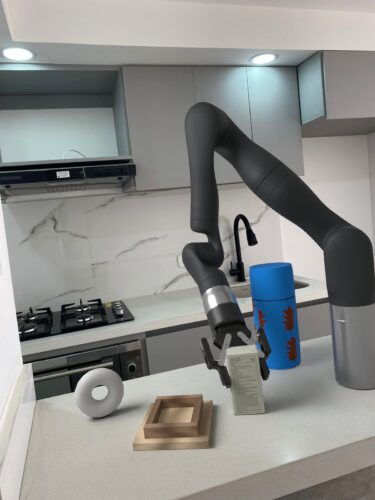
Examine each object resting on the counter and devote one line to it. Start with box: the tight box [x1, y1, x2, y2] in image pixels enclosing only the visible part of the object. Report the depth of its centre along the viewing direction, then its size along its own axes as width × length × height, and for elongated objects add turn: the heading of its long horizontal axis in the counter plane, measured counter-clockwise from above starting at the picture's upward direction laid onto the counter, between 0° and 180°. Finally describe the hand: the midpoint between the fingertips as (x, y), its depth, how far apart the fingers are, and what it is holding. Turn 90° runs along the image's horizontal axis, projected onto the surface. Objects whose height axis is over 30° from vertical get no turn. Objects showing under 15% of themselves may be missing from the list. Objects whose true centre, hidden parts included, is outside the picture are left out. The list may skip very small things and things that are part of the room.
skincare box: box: [225, 344, 266, 416], centre depth 70 cm, size 6×4×12 cm
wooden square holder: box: [132, 393, 214, 451], centre depth 67 cm, size 13×14×3 cm
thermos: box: [248, 261, 302, 371], centre depth 91 cm, size 11×11×25 cm
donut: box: [74, 367, 125, 418], centre depth 74 cm, size 10×4×10 cm, turn 109°
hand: (248, 382), depth 69 cm, fingers closed on skincare box, 7 cm apart
